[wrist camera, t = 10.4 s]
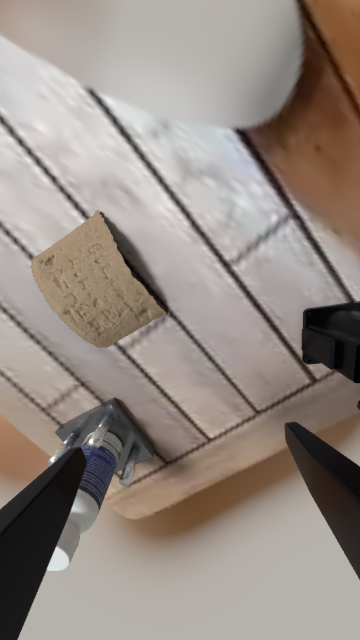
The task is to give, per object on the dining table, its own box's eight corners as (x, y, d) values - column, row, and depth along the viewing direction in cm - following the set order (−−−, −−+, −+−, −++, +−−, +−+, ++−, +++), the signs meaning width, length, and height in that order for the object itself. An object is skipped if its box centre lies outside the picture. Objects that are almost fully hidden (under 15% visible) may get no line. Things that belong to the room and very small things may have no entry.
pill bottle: (99, 421, 22) (34, 527, 13) (131, 444, 23) (89, 560, 14) (78, 443, 24) (4, 554, 14) (108, 464, 24) (57, 583, 15)
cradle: (114, 397, 23) (95, 427, 18) (154, 448, 25) (146, 487, 20) (61, 425, 25) (31, 458, 20) (102, 470, 26) (84, 510, 22)
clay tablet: (171, 316, 20) (168, 322, 17) (107, 355, 22) (95, 366, 19) (95, 201, 17) (79, 187, 15) (30, 257, 19) (4, 254, 17)
